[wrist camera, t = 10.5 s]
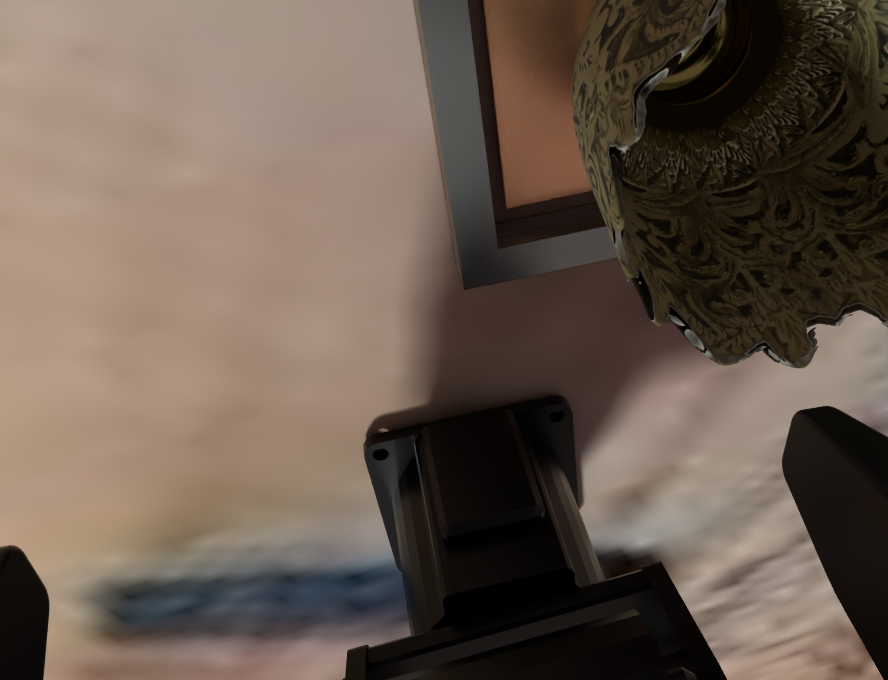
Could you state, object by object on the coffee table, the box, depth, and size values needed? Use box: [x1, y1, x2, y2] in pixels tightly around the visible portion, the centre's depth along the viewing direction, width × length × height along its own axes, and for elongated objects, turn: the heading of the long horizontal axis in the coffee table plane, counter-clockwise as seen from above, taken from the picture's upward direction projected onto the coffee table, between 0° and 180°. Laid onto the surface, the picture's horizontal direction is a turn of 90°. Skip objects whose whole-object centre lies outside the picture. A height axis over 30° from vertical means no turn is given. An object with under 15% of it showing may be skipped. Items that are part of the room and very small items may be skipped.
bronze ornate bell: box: [572, 0, 888, 368], centre depth 15 cm, size 8×7×8 cm
